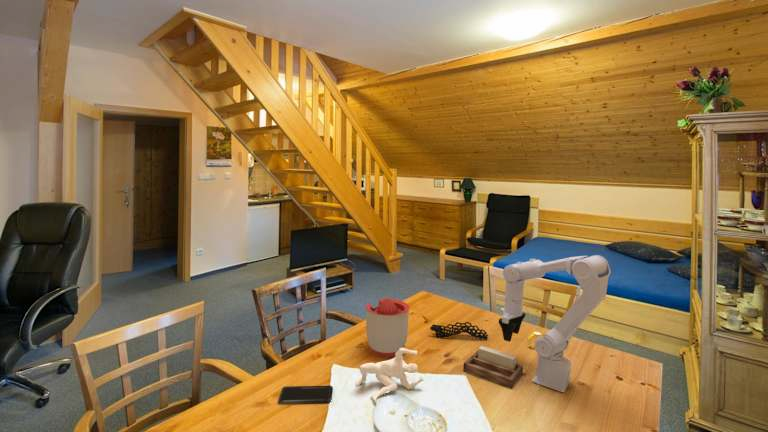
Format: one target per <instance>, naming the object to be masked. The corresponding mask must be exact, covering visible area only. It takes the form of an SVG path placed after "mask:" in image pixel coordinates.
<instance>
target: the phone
mask: <svg viewBox="0 0 768 432" xmlns="http://www.w3.org/2000/svg"><path fill="white" fill-rule="evenodd" d="M333 391H334V387H333V386H332V385H297V386H296V385H295V386H293V385H290V386H288V385H287V386H283V387H282V388H281V391H280V394H279V398H278V402H277V403H278V404H279V405H281V406H282V405H315V404H316V405H317V404H319V405H321V404H322V405H324V404H325V405H326V404H331V403H332V401H331V400H333ZM330 402H331V403H330Z"/></svg>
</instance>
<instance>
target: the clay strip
mask: <svg viewBox="0 0 768 432" xmlns="http://www.w3.org/2000/svg"><path fill="white" fill-rule="evenodd" d="M477 349H478V350H477V351H478V359H481V360H484V361H487V362H490V363H493V364H496V365H499V366H502V367H505V368H508V369H511V370H514V371H515V367H516V363H517V356H515V355H514V354H513V355H512V354H510V353H505V352H502V351H499V350H496V349H493V348H489V347H486V346H483V345H481V346H479V348H477Z"/></svg>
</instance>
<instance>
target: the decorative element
mask: <svg viewBox="0 0 768 432" xmlns="http://www.w3.org/2000/svg"><path fill="white" fill-rule="evenodd" d="M467 324H468V325H467ZM429 329H430V330H431V331H433V332H435V338H437V339H440V338H441V339H442V338H447V337H451V336H455V335H460V334H464V333H466V334H468V335H470V336H471V337H473V338H477V339H479V340H480V339H483V340H488V339H489V334H488V332H487V331H486V330H485V329H482V328H481V329H480V327H478V325H472V323H471V322H469V321H466V322H457V321H456V322H455V324H451V323H449V324H447V325H446V326H445V325H440V324H437V325H436V324H432V325H431V326H430V327H429Z"/></svg>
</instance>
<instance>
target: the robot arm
mask: <svg viewBox="0 0 768 432" xmlns="http://www.w3.org/2000/svg"><path fill="white" fill-rule="evenodd" d="M562 271H565V272H567V273H568V274H569V275H573V277H574V278H575V280H576V282H577V283H578V286H580V289H581V290H582V293H581V295H580V296H579V297H578V298H577V299H576V300H575V301H574V303H573V304H572V305H571V306H570V308H569V309H568V310H567V311H566V312H565V313H564V314H563V316H562V317H561V318H560V319H559V320H558V322H557V323H556V324H555V325H554V326H553V328H551V329H550V330H549V331H547V332H546V333H544V335H542V336H543V337H541V336H539V337H538V338H536V340H535V341H534V346H535V351H536V353H537V356H538V357H537V365H536V366H537V367H536V375H534V377H533V378H532V383H534V384H538V385H541V386H544V387H547V388H549V389H552V390H553V391H556V392H561V393H565V392H566V390H567V389H568V386H569V384H570V382H571V381H570V379H571V378H570V377H571V369H572V361H571V360H570V359H568V358H566V357H565V356H564V354H565V353H564V352H565V351H566V350H567V349H568V348H569V347H568V346H569V342H570V340H571V339H572V338H573V337H572V335H573V334H574V333H575V332H576V331H577V330H578V328H580V326H581V325H582V324H583V323H584V321H586V320H587V318H589V316H590V315H591V314H592V313H593V311H595V309H596V308H598V306H599V305H600V304H601V303H602V301H603V300H604V299H605V298H606V296H607V291H608V290H607V289H608V283H609V278H610V276H611V273H612V271H611V269H610V265H609V262H608V260H607V259H606V258H605V257H603V256H602V255H599V254H594V255H590V256H589V255H579V256H578V255H577V256H570V257H565V258H560V259H555V260H551V261H546V262H543V261H542V260H541V259H536V258H530V259H529V260H527V261H524V262H523V261H517V263H512V264H508V265H506V266H505V267H504V268H503V271H502V276H503V278H504V280H505V289H504V290H505V291H504V307H501V308H500V311H501V312H503V313H502V317H500V318H498V324H499V326H500V329H501V332H502V337H503V340H504V341H505V342H511V341H512V338H513V334H516V335H518V334H519V333H520V329H521V326H522V322H523V320H524V318H526V313H525V312H523V299H524V288H525V287H524V286H525V281H526V280H533V279H535V280H536V279H540V278H543V277H544V276H546V273H555V272H562Z"/></svg>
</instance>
